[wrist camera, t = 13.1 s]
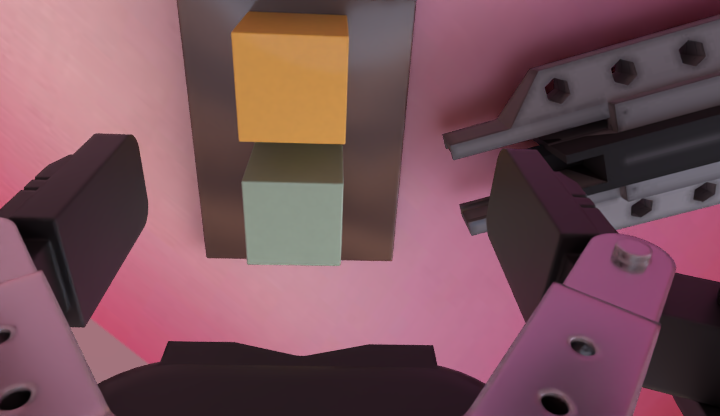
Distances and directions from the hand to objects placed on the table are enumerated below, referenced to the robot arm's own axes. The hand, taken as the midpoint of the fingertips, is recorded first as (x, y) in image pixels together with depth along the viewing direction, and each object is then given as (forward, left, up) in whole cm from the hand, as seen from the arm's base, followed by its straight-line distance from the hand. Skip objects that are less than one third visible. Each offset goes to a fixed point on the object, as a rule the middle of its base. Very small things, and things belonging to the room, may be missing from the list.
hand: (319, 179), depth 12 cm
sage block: (+8, -1, -15) cm, 17 cm away
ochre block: (+1, -1, -15) cm, 15 cm away
